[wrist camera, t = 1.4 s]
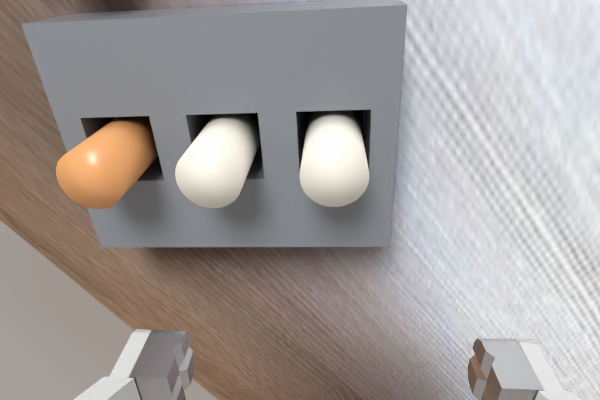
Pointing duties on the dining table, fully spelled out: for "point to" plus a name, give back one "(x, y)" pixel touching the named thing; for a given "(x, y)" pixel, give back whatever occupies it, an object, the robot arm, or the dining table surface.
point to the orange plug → (108, 162)
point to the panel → (232, 110)
